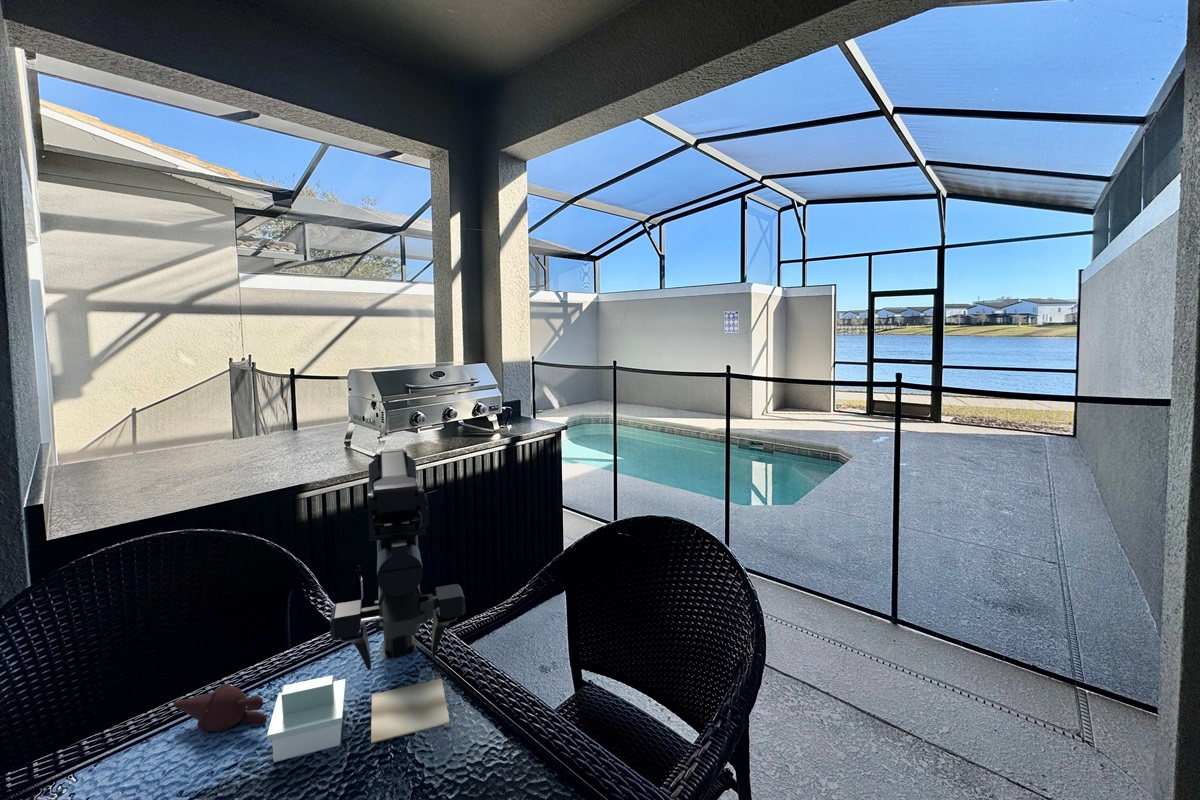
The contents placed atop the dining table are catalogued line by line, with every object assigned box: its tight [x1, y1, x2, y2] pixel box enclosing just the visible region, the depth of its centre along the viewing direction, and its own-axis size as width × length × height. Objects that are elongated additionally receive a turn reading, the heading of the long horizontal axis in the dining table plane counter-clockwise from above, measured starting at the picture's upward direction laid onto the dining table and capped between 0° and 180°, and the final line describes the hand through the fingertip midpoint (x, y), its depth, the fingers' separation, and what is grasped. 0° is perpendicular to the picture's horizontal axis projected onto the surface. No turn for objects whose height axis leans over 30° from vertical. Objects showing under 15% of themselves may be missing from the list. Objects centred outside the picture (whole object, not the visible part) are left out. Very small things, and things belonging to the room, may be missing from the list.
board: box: [370, 678, 451, 745], centre depth 91 cm, size 12×12×1 cm
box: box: [271, 723, 343, 763], centre depth 85 cm, size 9×9×4 cm
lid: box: [266, 675, 347, 742], centre depth 85 cm, size 10×10×5 cm
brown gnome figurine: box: [173, 683, 268, 733], centre depth 87 cm, size 7×7×15 cm
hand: (402, 661), depth 81 cm, fingers open, 9 cm apart
